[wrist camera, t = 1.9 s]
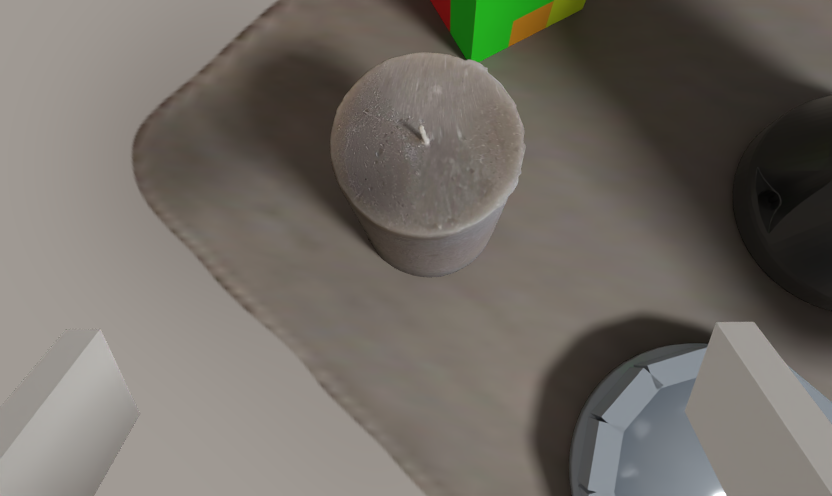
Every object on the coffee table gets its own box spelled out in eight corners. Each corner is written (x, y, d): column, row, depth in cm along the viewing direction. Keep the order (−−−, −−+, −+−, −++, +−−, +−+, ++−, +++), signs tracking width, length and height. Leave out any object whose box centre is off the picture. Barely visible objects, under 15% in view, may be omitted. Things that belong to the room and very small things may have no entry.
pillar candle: (341, 243, 39) (284, 178, 25) (400, 129, 41) (378, 4, 26) (462, 300, 38) (478, 269, 23) (518, 181, 40) (565, 81, 25)
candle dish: (678, 292, 37) (703, 285, 34) (893, 473, 34) (946, 487, 31) (515, 479, 35) (523, 493, 32) (727, 687, 32) (763, 729, 29)
